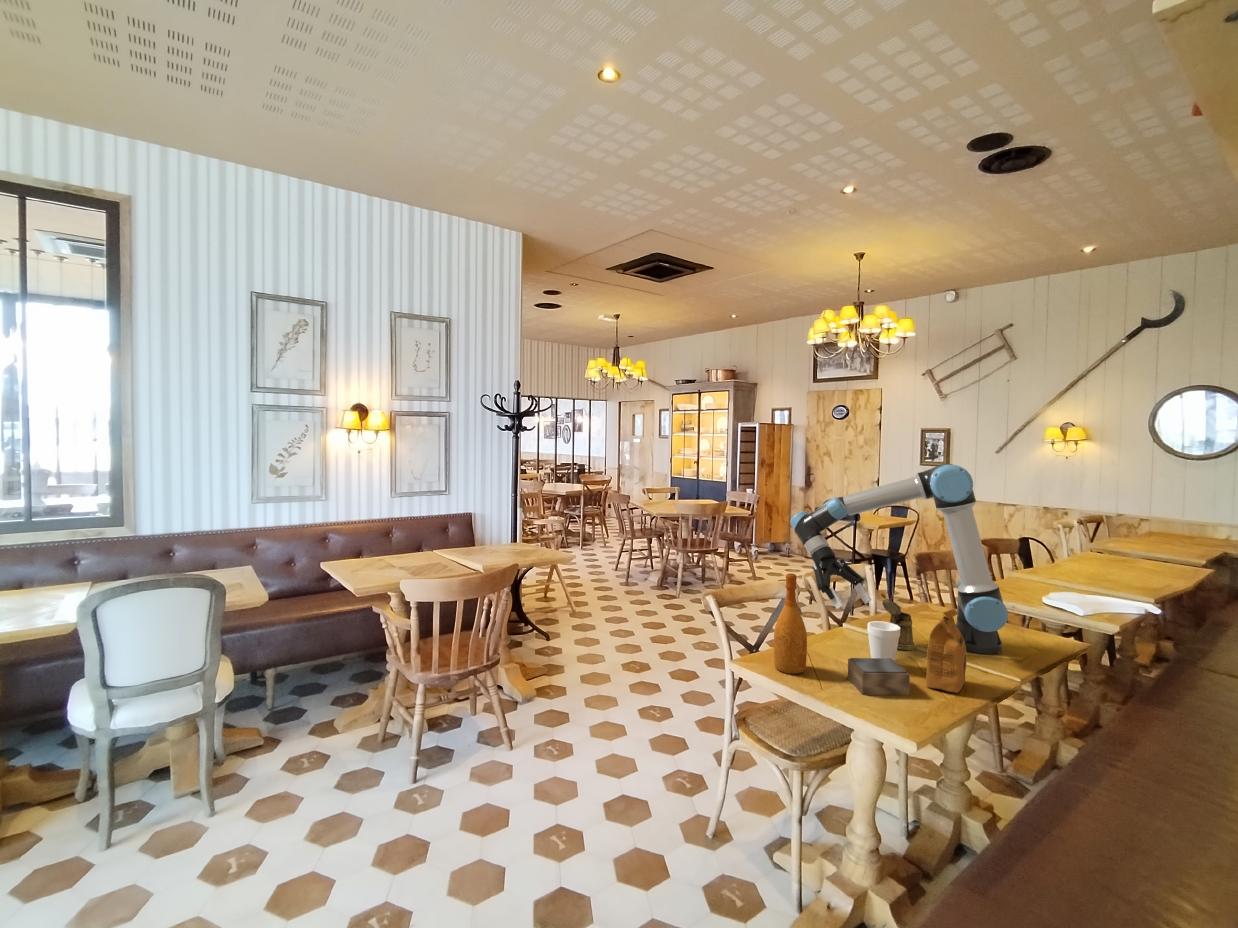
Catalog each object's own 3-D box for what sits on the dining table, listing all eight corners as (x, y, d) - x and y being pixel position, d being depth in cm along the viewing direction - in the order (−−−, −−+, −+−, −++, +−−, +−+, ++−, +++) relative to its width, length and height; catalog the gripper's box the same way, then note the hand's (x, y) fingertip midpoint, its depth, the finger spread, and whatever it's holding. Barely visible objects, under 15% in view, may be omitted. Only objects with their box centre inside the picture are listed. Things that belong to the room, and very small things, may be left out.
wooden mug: (873, 647, 198) (874, 596, 197) (894, 639, 206) (895, 590, 205) (899, 655, 191) (900, 602, 190) (919, 647, 199) (920, 595, 198)
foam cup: (903, 666, 182) (904, 625, 181) (893, 675, 175) (894, 632, 174) (872, 658, 188) (873, 619, 188) (862, 666, 182) (862, 625, 181)
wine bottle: (801, 677, 173) (803, 578, 171) (769, 670, 178) (770, 574, 177) (809, 667, 181) (811, 572, 180) (778, 660, 186) (780, 568, 185)
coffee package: (971, 684, 168) (973, 610, 167) (959, 697, 160) (961, 619, 159) (934, 674, 175) (936, 603, 174) (920, 687, 167) (922, 611, 166)
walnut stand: (891, 678, 172) (892, 657, 172) (909, 695, 161) (909, 672, 161) (847, 678, 173) (848, 657, 172) (862, 694, 162) (862, 671, 161)
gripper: (838, 554, 211) (872, 605, 199) (788, 560, 199) (821, 615, 187) (850, 542, 207) (886, 593, 194) (800, 548, 195) (834, 603, 182)
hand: (854, 604), depth 190 cm, fingers open, 13 cm apart
